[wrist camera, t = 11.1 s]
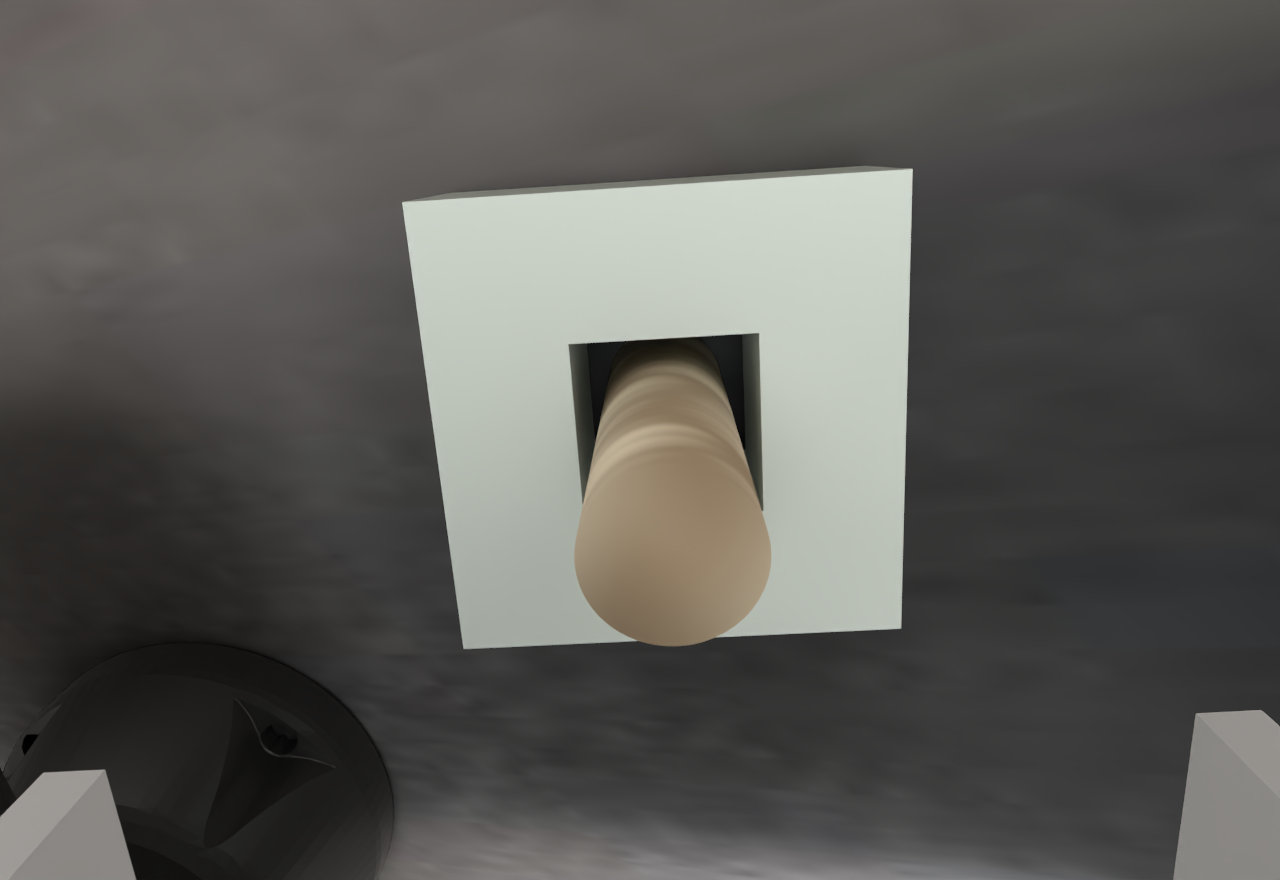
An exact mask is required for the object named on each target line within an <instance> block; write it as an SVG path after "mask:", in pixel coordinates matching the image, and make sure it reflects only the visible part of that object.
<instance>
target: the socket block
mask: <svg viewBox="0 0 1280 880" xmlns="http://www.w3.org/2000/svg"><path fill="white" fill-rule="evenodd" d="M912 172H913V169H906V168H891V167H876V166H854V167H839V168H823V169H808V170H793V171H778V172H762V173H747V174H732V175H716V176H701V177H686V178H671V179H655V180H640V181H625V182H610V183H594V184H579V185H564V186H549V187H533V188H518V189H503V190H488V191H472V192H457V193H447V194H442V195H437V196H432V197H426V198H421V199H416V200H411V201H406V202H402V204H403V212H404V219H405V226H406V233H407V241H408V248H409V255H410V263H411V270H412V277H413V284H414V292H415V299H416V306H417V314H418V321H419V328H420V335H421V343H422V350H423V357H424V364H425V372H426V379H427V386H428V394H429V401H430V408H431V415H432V423H433V430H434V437H435V445H436V452H437V459H438V466H439V474H440V481H441V488H442V495H443V503H444V510H445V517H446V525H447V532H448V539H449V546H450V554H451V561H452V568H453V576H454V583H455V590H456V597H457V605H458V612H459V619H460V627H461V634H462V641H463V648H464V649H477V648H499V647H520V646H541V645H563V644H584V643H605V642H626V641H638V640H635V639H633V638H630V637H628V636H626V635H624V634H622V633H620V632H618V631H617V630H615V629H614V628H612V627H611V626H610V625H608V624H607V623H606V622H605V621H604V620H603V619H601V618H600V617H599V616H598V615H597V613H596V612H595V611H594V610H593V609H592V608H591V606H590V604H589V603H588V601H587V600H586V598H585V597H584V594H583V592H582V590H581V588H580V586H579V582H578V579H577V576H576V570H575V564H574V550H575V542H576V537H577V532H578V527H579V522H580V517H581V512H582V507H583V502H584V497H585V492H586V487H587V482H588V477H589V473H590V468H591V463H592V458H593V453H594V448H595V434H594V422H593V410H592V398H591V385H590V373H589V361H588V349H587V343H598V342H615V341H632V340H649V339H666V338H683V337H700V336H717V335H733V334H742V351H743V384H744V417H745V450H744V454H745V457H746V460H747V464H748V467H749V470H750V474H751V477H752V480H753V484H754V487H755V490H756V494H757V497H758V500H759V504H760V507H761V510H762V514H763V517H764V520H765V524H766V527H767V530H768V535H769V539H770V544H771V568H770V573H769V578H768V581H767V584H766V586H765V589H764V591H763V593H762V595H761V597H760V599H759V600H758V602H757V603H756V605H755V606H754V608H753V609H752V610H751V611H750V612H749V613H748V615H747V616H746V617H745V618H744V619H743V620H741V621H740V622H739V623H738V624H737V625H736V626H734V627H733V628H731V629H730V630H728V631H727V632H725V633H723V634H721V635H719V636H717V637H733V636H754V635H775V634H797V633H818V632H839V631H861V630H882V629H901V611H902V571H903V531H904V491H905V451H906V411H907V371H908V331H909V291H910V251H911V211H912Z"/></svg>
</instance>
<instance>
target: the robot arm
mask: <svg viewBox="0 0 1280 880" xmlns="http://www.w3.org/2000/svg"><path fill="white" fill-rule="evenodd" d="M393 819H394V814H393V800H392V793H391V789H390V784H389V781H388V777H387V774H386V771H385V769H384V766H383V764H382V761H381V759H380V757H379V755H378V753H377V751H376V749H375V747H374V745H373V744H372V742H371V740H370V739H369V737H368V736H367V734H366V733H365V732H364V730H363V729H362V727H361V726H360V725H359V724H358V722H357V721H356V720H355V719H354V718H353V716H352V715H351V714H350V713H349V712H348V711H347V710H346V709H345V708H344V707H343V706H342V705H341V704H340V703H339V702H338V701H337V700H336V699H335V698H333V697H332V696H331V695H330V694H328V693H327V692H326V691H325V690H324V689H322V688H321V687H319V686H318V685H317V684H315V683H314V682H312V681H311V680H309V679H308V678H306V677H304V676H303V675H301V674H299V673H298V672H296V671H294V670H292V669H290V668H288V667H286V666H284V665H282V664H280V663H278V662H275V661H273V660H270V659H268V658H265V657H263V656H260V655H257V654H254V653H251V652H247V651H244V650H240V649H236V648H231V647H226V646H220V645H213V644H204V643H170V644H160V645H153V646H147V647H143V648H139V649H135V650H131V651H128V652H125V653H122V654H120V655H117V656H114V657H112V658H110V659H108V660H106V661H104V662H102V663H100V664H98V665H96V666H95V667H93V668H91V669H90V670H88V671H87V672H86V673H84V674H83V675H81V676H80V677H79V678H78V679H77V680H75V681H74V682H73V683H72V684H71V685H70V686H69V687H68V688H66V689H65V690H64V691H63V692H62V693H61V694H60V695H59V696H58V697H57V698H56V699H54V700H53V701H52V702H51V703H50V704H49V705H48V706H47V707H46V708H45V709H43V710H42V711H41V712H40V713H39V715H38V716H37V717H36V718H35V719H34V720H33V721H32V722H31V724H30V725H29V726H28V728H27V729H26V730H25V731H24V733H23V734H22V735H21V737H20V739H19V740H18V742H17V743H16V745H15V747H14V749H13V751H12V753H11V755H10V757H9V759H8V761H7V763H6V765H5V768H4V770H3V773H2V771H1V769H0V880H377V879H378V877H379V874H380V872H381V869H382V867H383V864H384V861H385V859H386V856H387V853H388V850H389V847H390V842H391V838H392V831H393ZM1173 880H1280V726H1279V725H1278V724H1276V723H1275V722H1274V721H1273V720H1272V719H1271V718H1270V717H1269V716H1268V715H1266V714H1265V713H1264V712H1263V711H1262V710H1254V711H1234V712H1215V713H1196V717H1195V724H1194V732H1193V739H1192V746H1191V754H1190V761H1189V768H1188V776H1187V783H1186V790H1185V798H1184V805H1183V812H1182V820H1181V827H1180V834H1179V842H1178V849H1177V856H1176V864H1175V871H1174V878H1173Z"/></svg>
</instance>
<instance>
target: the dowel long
mask: <svg viewBox="0 0 1280 880" xmlns="http://www.w3.org/2000/svg"><path fill="white" fill-rule="evenodd" d="M574 564H575V570H576V576H577V579H578V582H579V586H580V588H581V590H582V592H583V594H584V597H585V598H586V600H587V601H588V603H589V604H590V606H591V608H592V609H593V610H594V611H595V612H596V613H597V615H598V616H599V617H600V618H601V619H603V620H604V621H605V622H606V623H607V624H608V625H610V626H611V627H612V628H614V629H615V630H617V631H618V632H620V633H622V634H624V635H626V636H628V637H630V638H633V639H635V640H638V641H640V642H644V643H648V644H652V645H660V646H685V645H692V644H696V643H701V642H704V641H707V640H710V639H713V638H715V637H717V636H719V635H721V634H723V633H725V632H727V631H728V630H730V629H731V628H733V627H734V626H736V625H737V624H738V623H739V622H740V621H741V620H743V619H744V618H745V617H746V616H747V615H748V613H749V612H750V611H751V610H752V609H753V608H754V606H755V605H756V603H757V602H758V600H759V599H760V597H761V595H762V593H763V591H764V589H765V586H766V584H767V581H768V578H769V573H770V568H771V544H770V539H769V535H768V530H767V527H766V524H765V520H764V517H763V514H762V510H761V507H760V504H759V500H758V497H757V494H756V490H755V487H754V484H753V480H752V477H751V474H750V470H749V467H748V464H747V460H746V457H745V454H744V450H743V447H742V444H741V440H740V437H739V434H738V430H737V427H736V424H735V420H734V417H733V414H732V410H731V407H730V404H729V400H728V397H727V393H726V390H725V387H724V383H723V380H722V377H721V373H720V370H719V367H718V364H717V361H716V359H715V357H714V355H713V353H712V351H711V350H710V349H709V347H708V346H707V345H706V344H705V343H704V342H703V341H702V340H701V339H699V338H698V337H683V338H666V339H649V340H632V341H627V342H626V343H625V344H624V345H623V346H622V347H621V349H620V350H619V351H618V353H617V354H616V356H615V358H614V360H613V363H612V366H611V370H610V374H609V379H608V384H607V389H606V394H605V399H604V404H603V409H602V414H601V418H600V423H599V428H598V433H597V438H596V443H595V448H594V453H593V458H592V463H591V468H590V473H589V477H588V482H587V487H586V492H585V497H584V502H583V507H582V512H581V517H580V522H579V527H578V532H577V537H576V542H575V550H574Z"/></svg>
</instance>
